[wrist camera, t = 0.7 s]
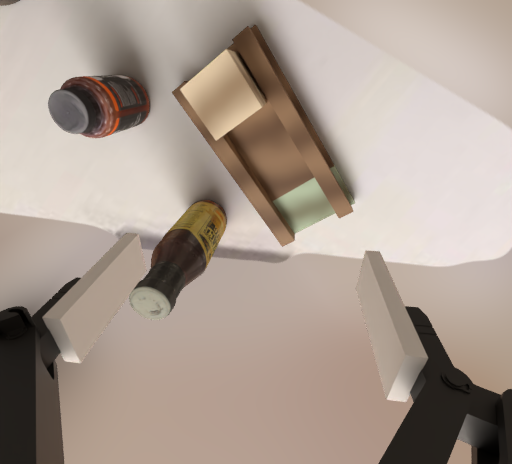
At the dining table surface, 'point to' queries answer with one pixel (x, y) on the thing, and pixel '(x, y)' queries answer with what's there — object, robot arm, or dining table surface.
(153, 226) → the dining table surface
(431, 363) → the robot arm
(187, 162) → the dining table surface
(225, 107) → the block
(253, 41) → the walnut chute
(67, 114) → the supplement bottle
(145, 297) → the sauce bottle
